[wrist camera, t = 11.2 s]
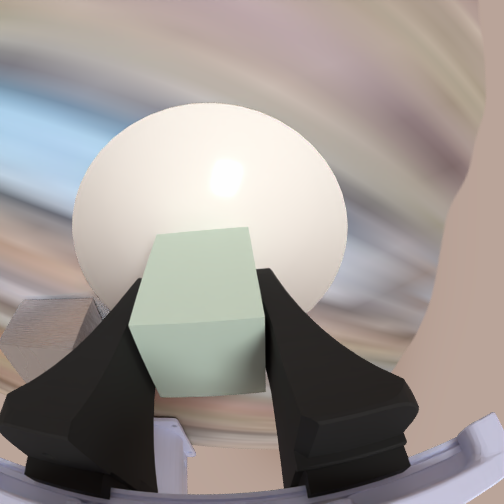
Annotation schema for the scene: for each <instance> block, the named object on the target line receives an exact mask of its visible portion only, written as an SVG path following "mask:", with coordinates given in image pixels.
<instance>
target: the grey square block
mask: <svg viewBox="0 0 504 504" xmlns="http://www.w3.org/2000/svg"><path fill="white" fill-rule="evenodd" d="M101 322H102V319H101V317H100V314H99V312H98V310H97V307H96V305H95V303H94V300H93V298H87V299H51V300H23V301H22V302H21V304H20V305H19V307H18V309H17V310H16V312H15V314H14V315H13V317H12V319H11V321H10V322H9V324H8V326H7V328H6V329H5V331H4V333H3V335H2V337H1V338H0V349H1V350H2V352H3V353H4V355H5V356H6V357H7V359H8V360H9V361H10V363H11V364H12V366H13V367H14V368H15V369H16V371H17V372H18V373H19V375H20V376H21V377H22V378H23V380H24V381H25V382H26V383H28V382H30V381H32V380H33V379H35V378H36V377H38V376H39V375H41V374H43V373H44V372H45V371H47V370H48V369H50V368H51V367H53V366H54V365H55V364H56V363H58V362H59V361H60V360H61V359H63V358H64V357H65V356H66V355H68V354H69V353H70V352H71V351H72V350H74V349H75V348H76V347H77V346H78V345H79V344H80V343H81V342H82V341H83V340H84V339H85V338H86V337H87V336H89V335H90V333H91V332H92V331H93V330H94V329H95V328H96V327H97V326H98V325H99V324H100V323H101Z"/></svg>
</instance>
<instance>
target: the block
mask: <svg viewBox="0 0 504 504" xmlns="http://www.w3.org/2000/svg"><path fill="white" fill-rule="evenodd" d="M128 326H129V328H130V331H131V333H132V336H133V338H134V340H135V343H136V345H137V347H138V350H139V352H140V354H141V357H142V359H143V361H144V363H145V365H146V368H147V370H148V372H149V374H150V376H151V378H152V380H153V382H154V385H155V387H156V389H157V391H158V393H159V395H160V397H204V396H223V395H237V394H248V393H259V392H266V383H265V315H264V310H263V304H262V299H261V294H260V288H259V283H258V277H257V272H256V267H255V261H254V256H253V250H252V245H251V239H250V234H249V229H248V227H237V228H225V229H213V230H201V231H189V232H178V233H167V234H157V235H156V238H155V241H154V244H153V247H152V250H151V253H150V256H149V259H148V262H147V265H146V268H145V271H144V274H143V277H142V281H141V284H140V287H139V290H138V294H137V297H136V300H135V304H134V307H133V311H132V314H131V318H130V321H129V325H128Z"/></svg>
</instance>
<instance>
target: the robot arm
mask: <svg viewBox="0 0 504 504" xmlns="http://www.w3.org/2000/svg"><path fill="white" fill-rule="evenodd" d="M256 272H257V277H258V283H259V288H260V294H261V299H262V304H263V310H264V315H265V368H266V372H267V376H268V380H269V384H270V389H271V393H272V400H273V407H274V414H275V422H276V429H277V436H278V444H279V451H280V459H281V467H282V475H283V483H284V489H278V490H270V491H261V492H250V493H236V494H213V495H212V494H207V495H194V494H192V495H191V494H187V457H194V456H196V452H195V450H194V448H193V447H192V445H191V443H190V441H189V439H188V438H187V436H186V434H185V432H184V430H183V428H182V426H181V424H180V423H179V421H178V420H177V419H176V418H154V397H155V388H156V387H155V385H154V382H153V380H152V378H151V376H150V374H149V372H148V370H147V368H146V365H145V363H144V361H143V359H142V357H141V354H140V352H139V350H138V347H137V345H136V343H135V340H134V338H133V336H132V333H131V331H130V328H129V326H128V325H129V321H130V318H131V314H132V311H133V307H134V304H135V300H136V297H137V294H138V290H139V287H140V284H141V281H142V278H138V279H137V280H136V281H135V282H134V284H133V285H132V286H131V287H130V288H129V290H128V291H127V292H126V293H125V295H124V296H123V297H122V298H121V299H120V301H119V302H118V303H117V304H116V305H115V307H114V308H113V309H112V310H111V312H110V313H109V314H108V315H107V316H106V317H105V318H104V319H103V320H102V322H101V323H100V324H99V325H98V326H97V327H96V328H95V329H94V330H93V331H92V332H91V333H90V335H89V336H87V337H86V338H85V339H84V340H83V341H82V342H81V343H80V344H79V345H78V346H77V347H76V348H75V349H74V350H72V351H71V352H70V353H69V354H68V355H66V356H65V357H64V358H63V359H61V360H60V361H59V362H58V363H56V364H55V365H54V366H53V367H51V368H50V369H48V370H47V371H45V372H44V373H43V374H41V375H39V376H38V377H36V378H35V379H33V380H32V381H30V382H28V383H27V384H25V385H23V386H21V387H19V388H18V389H16V390H14V391H12V392H10V393H8V394H7V396H6V399H5V402H4V404H3V407H2V410H1V413H0V433H1V434H2V435H3V436H4V437H5V438H6V439H7V440H8V441H10V442H11V443H12V444H13V445H14V446H16V447H17V448H18V449H19V450H21V451H22V452H23V453H25V454H26V455H27V456H28V458H27V463H26V467H25V466H22V465H19V464H16V463H13V462H10V461H8V460H5V459H3V458H0V504H466V503H467V502H468V501H470V500H472V499H474V498H475V497H477V496H478V495H480V494H481V493H483V492H484V491H486V490H487V489H489V488H490V487H492V486H493V485H495V484H496V483H497V482H499V481H500V480H502V479H503V478H504V430H503V428H502V426H501V424H500V422H499V420H498V418H497V416H496V414H495V412H492V413H490V414H488V415H487V416H485V417H483V418H481V419H479V420H477V421H475V422H473V423H472V424H470V425H469V426H467V427H466V428H464V429H463V430H462V431H461V432H460V433H459V434H458V436H457V437H455V438H454V439H451V440H449V441H447V442H445V443H442V444H440V445H438V446H436V447H433V448H431V449H428V450H426V451H423V452H421V453H418V454H416V455H413V456H411V457H408V456H407V453H406V451H405V448H404V445H405V444H406V443H407V441H406V438H405V435H404V433H403V432H404V431H405V430H406V429H407V427H408V426H409V425H410V424H411V423H412V421H413V420H414V419H415V417H416V415H417V413H418V410H419V406H418V404H417V401H416V399H415V397H414V395H413V393H412V391H411V389H410V388H409V386H408V385H407V383H406V382H405V380H404V379H403V378H400V377H399V376H396V375H394V374H392V373H390V372H388V371H386V370H383V369H381V368H379V367H377V366H375V365H373V364H372V363H370V362H368V361H366V360H365V359H363V358H361V357H360V356H358V355H356V354H355V353H354V352H352V351H351V350H349V349H348V348H346V347H345V346H343V345H342V344H340V343H339V342H338V341H336V340H335V339H334V338H333V337H331V336H330V335H329V334H328V333H326V332H325V331H324V330H323V329H322V328H321V327H320V326H318V325H317V324H316V323H315V322H314V321H313V320H312V319H311V318H310V317H309V316H308V315H307V314H306V313H305V312H304V311H303V310H302V308H301V307H300V306H299V305H298V304H297V303H296V302H295V300H294V299H293V298H292V297H291V296H290V295H289V293H288V292H287V291H286V290H285V288H284V287H283V286H282V284H281V283H280V281H279V280H278V279H277V277H276V275H275V274H274V272H273V271H272V270H271V269H270V268H263V269H256Z"/></svg>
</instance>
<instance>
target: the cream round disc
mask: <svg viewBox="0 0 504 504" xmlns="http://www.w3.org/2000/svg"><path fill="white" fill-rule="evenodd" d="M237 227H248V229H249V234H250V239H251V245H252V250H253V256H254V261H255V267H256V269H263V268H270V269H271V270H272V271H273V272H274V274H275V275H276V277H277V279H278V280H279V281H280V283H281V284H282V286H283V287H284V288H285V290H286V291H287V292H288V293H289V295H290V296H291V297H292V298H293V299H294V300H295V302H296V303H297V304H298V305H299V306H300V307H301V308H302V310H303V311H304V312H305V313H308V312H309V311H310V310H311V309H312V308H313V307H314V306H315V305H316V304H317V303H318V302H319V300H320V299H321V298H322V297H323V296H324V294H325V293H326V291H327V290H328V289H329V287H330V286H331V284H332V282H333V280H334V278H335V276H336V275H337V273H338V270H339V268H340V265H341V262H342V259H343V256H344V252H345V247H346V242H347V214H346V207H345V203H344V199H343V195H342V192H341V189H340V187H339V185H338V182H337V180H336V177H335V176H334V174H333V172H332V171H331V169H330V167H329V166H328V164H327V162H326V161H325V160H324V158H323V157H322V156H321V155H320V154H319V152H318V151H317V150H316V149H315V148H314V147H313V146H312V145H311V144H310V143H309V142H308V141H307V140H306V139H304V138H303V137H302V136H301V135H300V134H299V133H297V132H296V131H295V130H293V129H292V128H290V127H289V126H287V125H285V124H284V123H282V122H281V121H279V120H277V119H275V118H273V117H271V116H269V115H266V114H264V113H262V112H259V111H257V110H253V109H250V108H246V107H242V106H239V105H233V104H224V103H215V102H213V103H191V104H186V105H180V106H175V107H171V108H168V109H165V110H162V111H159V112H156V113H153V114H151V115H149V116H147V117H145V118H143V119H141V120H139V121H137V122H135V123H134V124H132V125H130V126H129V127H127V128H126V129H125V130H123V131H122V132H121V133H119V134H118V135H117V136H115V137H114V138H113V139H112V140H111V141H110V142H109V143H108V144H107V145H106V146H105V147H104V148H103V149H102V150H101V151H100V152H99V153H98V155H97V156H96V158H95V159H94V160H93V162H92V163H91V165H90V166H89V167H88V169H87V171H86V173H85V175H84V177H83V179H82V181H81V184H80V186H79V190H78V193H77V196H76V199H75V204H74V210H73V221H72V233H73V241H74V248H75V252H76V255H77V259H78V262H79V265H80V267H81V269H82V272H83V274H84V276H85V278H86V280H87V281H88V283H89V285H90V286H91V288H92V290H93V291H94V292H95V294H96V295H97V296H98V297H99V299H100V300H101V301H102V302H103V303H104V304H105V305H106V306H107V307H108V308H109V309H110V310H112V309H113V308H114V307H115V305H116V304H117V303H118V302H119V301H120V299H121V298H122V297H123V296H124V295H125V293H126V292H127V291H128V290H129V288H130V287H131V286H132V285H133V284H134V282H135V281H136V280H137V279H138V278H142V277H143V274H144V271H145V268H146V265H147V262H148V259H149V256H150V253H151V250H152V247H153V244H154V241H155V238H156V235H157V234H167V233H178V232H189V231H201V230H213V229H225V228H237Z"/></svg>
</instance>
